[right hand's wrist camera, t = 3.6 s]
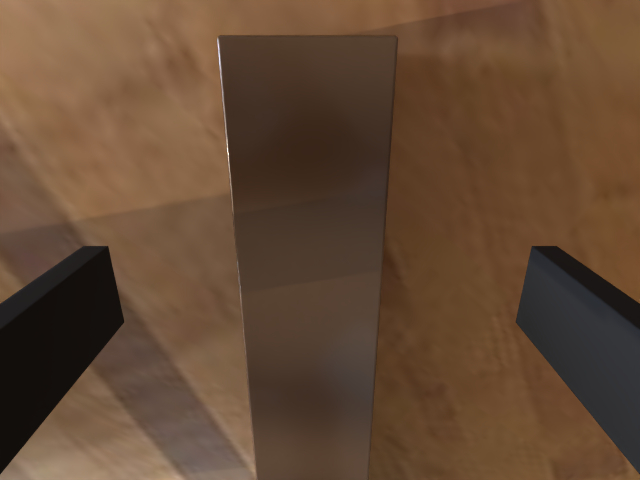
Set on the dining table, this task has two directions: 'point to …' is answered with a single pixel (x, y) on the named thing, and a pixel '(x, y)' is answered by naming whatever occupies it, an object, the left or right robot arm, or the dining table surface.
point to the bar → (309, 239)
